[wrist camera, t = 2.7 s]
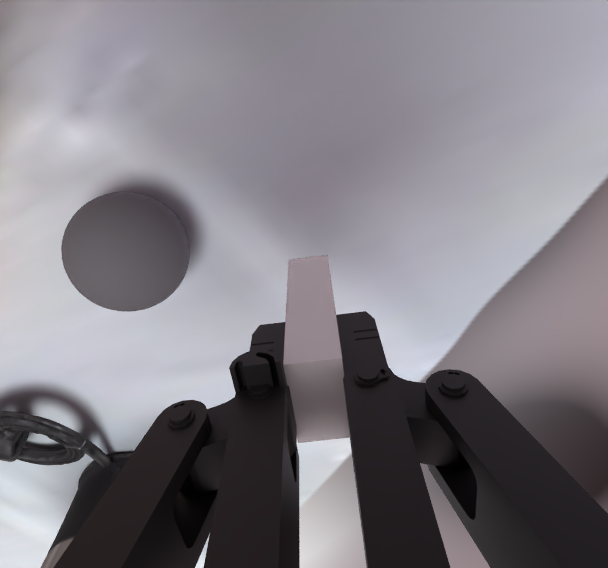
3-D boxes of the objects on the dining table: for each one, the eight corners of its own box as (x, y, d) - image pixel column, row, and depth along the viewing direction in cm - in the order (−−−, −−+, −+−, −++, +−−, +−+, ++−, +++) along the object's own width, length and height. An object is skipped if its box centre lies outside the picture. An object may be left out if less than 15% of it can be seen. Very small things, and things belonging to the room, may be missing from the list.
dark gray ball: (184, 171, 24) (151, 206, 19) (210, 271, 27) (187, 327, 21) (76, 185, 24) (13, 225, 19) (112, 283, 27) (66, 341, 22)
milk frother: (187, 536, 39) (128, 788, 26) (-6, 504, 37) (-177, 759, 24) (218, 417, 32) (161, 671, 19) (-14, 370, 30) (-255, 618, 17)
